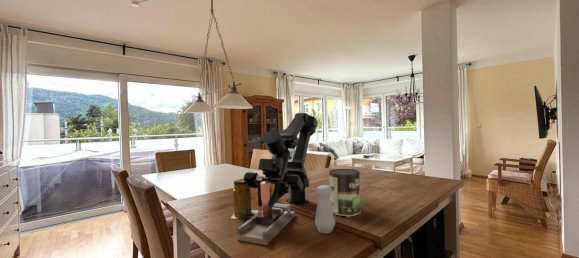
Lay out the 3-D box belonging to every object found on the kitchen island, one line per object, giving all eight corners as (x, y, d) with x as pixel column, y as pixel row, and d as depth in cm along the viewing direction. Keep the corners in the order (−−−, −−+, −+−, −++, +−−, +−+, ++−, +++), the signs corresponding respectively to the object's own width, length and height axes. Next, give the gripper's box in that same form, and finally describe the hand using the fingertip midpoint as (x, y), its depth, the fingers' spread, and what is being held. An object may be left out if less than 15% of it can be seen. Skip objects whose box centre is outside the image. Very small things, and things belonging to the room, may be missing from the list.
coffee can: (365, 210, 88) (365, 170, 87) (351, 220, 80) (350, 176, 80) (340, 204, 95) (339, 167, 94) (324, 212, 87) (323, 172, 87)
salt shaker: (313, 226, 76) (312, 184, 76) (332, 225, 77) (331, 182, 76) (317, 235, 70) (316, 189, 70) (337, 234, 71) (336, 188, 70)
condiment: (235, 211, 92) (234, 178, 91) (258, 210, 92) (257, 177, 91) (230, 219, 84) (229, 183, 84) (255, 218, 84) (254, 182, 84)
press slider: (265, 215, 82) (264, 178, 81) (282, 218, 79) (281, 179, 79) (255, 223, 76) (254, 182, 75) (273, 225, 74) (272, 184, 73)
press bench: (271, 212, 89) (270, 200, 88) (295, 215, 85) (294, 203, 85) (237, 239, 69) (236, 224, 69) (266, 245, 66) (265, 228, 66)
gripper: (245, 147, 83) (225, 190, 73) (298, 148, 75) (285, 196, 66) (257, 167, 90) (242, 208, 80) (307, 169, 83) (296, 214, 73)
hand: (264, 206), depth 75 cm, fingers closed on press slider, 3 cm apart
